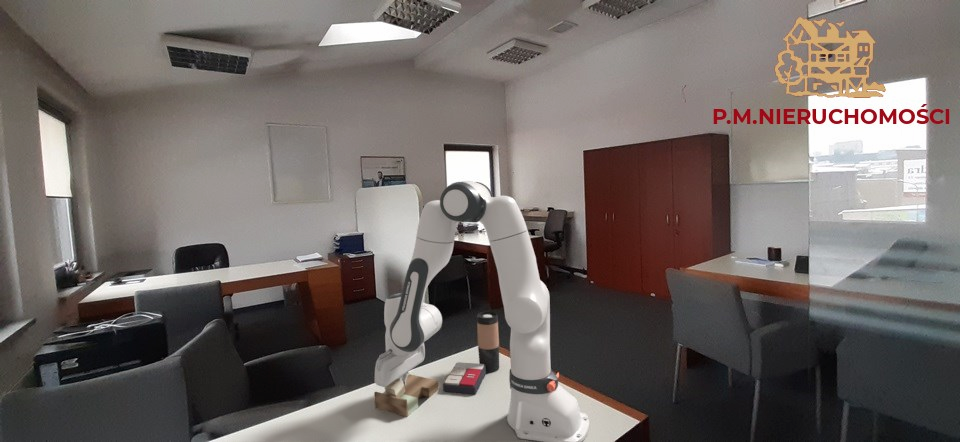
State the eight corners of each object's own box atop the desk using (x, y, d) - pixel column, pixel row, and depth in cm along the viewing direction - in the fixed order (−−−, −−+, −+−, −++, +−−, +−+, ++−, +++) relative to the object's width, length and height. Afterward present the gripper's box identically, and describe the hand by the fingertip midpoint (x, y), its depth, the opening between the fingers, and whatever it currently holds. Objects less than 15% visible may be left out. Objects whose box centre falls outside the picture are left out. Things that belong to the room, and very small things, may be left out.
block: (405, 391, 121) (402, 380, 120) (397, 400, 117) (394, 389, 116) (395, 388, 123) (392, 378, 121) (387, 397, 119) (384, 386, 118)
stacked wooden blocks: (438, 389, 129) (438, 374, 128) (406, 417, 114) (405, 400, 113) (409, 382, 134) (408, 368, 134) (375, 408, 119) (374, 392, 119)
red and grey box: (442, 382, 127) (456, 360, 141) (443, 394, 127) (457, 371, 142) (474, 385, 124) (485, 362, 138) (475, 397, 124) (486, 373, 139)
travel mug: (504, 367, 142) (502, 314, 141) (490, 375, 137) (487, 319, 135) (488, 361, 148) (486, 310, 146) (474, 368, 142) (472, 315, 141)
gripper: (384, 359, 111) (387, 405, 112) (427, 334, 128) (429, 374, 130) (368, 355, 114) (370, 400, 115) (412, 331, 131) (414, 371, 133)
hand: (402, 386), depth 122 cm, fingers closed
